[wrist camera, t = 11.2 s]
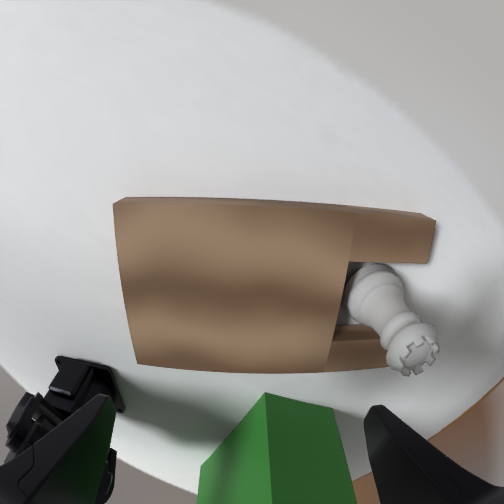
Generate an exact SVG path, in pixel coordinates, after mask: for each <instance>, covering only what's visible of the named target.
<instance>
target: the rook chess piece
mask: <svg viewBox="0 0 504 504" xmlns="http://www.w3.org/2000/svg"><path fill="white" fill-rule="evenodd" d="M343 301H344V305H345V308H346V309H347V311H348V312H349V314H350V315H351V316H352V317H353V318H354V319H355V321H357V322H358V323H361V324H363V325H366V326H369V327H372V328H373V329H374V330H375V331H376V332H377V333H378V334H379V336H380V341H381V346H382V347H383V348H384V349H385V350H388V352H387V355H386V359H387V364H388V365H389V366H390V368H391V369H395V370H399V371H401V373H402V375H403V376H408V377H409V375H410V374H411V372H410V370H413V372H414V374H415V375H417V374H419V373H422V372H423V369H422V367H421V365H422V364H424V363H425V362H427V364H428V365H429V366H431V364H432V363H433V362H434V361H435V358H434V356H433V355H432V353H433V352H434V354H436V353H438V352H439V345H438V344H437V341H436V333H437V332H436V330H435V328H434V326H432V325H430V324H428V323H421V319H420V317H419V315H418V314H416V313H413V312H411V311H410V310H409V308H408V307H407V305H406V303H405V301H404V290H403V284H402V282H401V280H400V279H399V277H398V276H397V274H395V272H394V271H393V269H392V268H390V267H388V266H386V265H384V264H371V265H368V266H365V267H363V268H361V269H360V270H358V271H357V272H356V273H355V274H354V275H352V276H351V278H350V280H349V281H348V283H347V284H346V286H345V289H344V294H343Z"/></svg>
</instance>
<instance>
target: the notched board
mask: <svg viewBox="0 0 504 504" xmlns="http://www.w3.org/2000/svg"><path fill="white" fill-rule="evenodd" d="M113 214H114V226H115V237H116V247H117V256H118V264H119V271H120V278H121V285H122V291H123V297H124V303H125V309H126V314H127V319H128V324H129V329H130V334H131V339H132V343H133V348H134V352H135V356H136V360H137V364H142V365H149V366H157V367H166V368H175V369H185V370H197V371H211V372H229V373H265V374H282V373H319V372H336V371H350V370H362V369H372V368H381V367H389V365H388V364H387V359H386V355H387V352H388V350H385V349H384V348H383V347H382V346H381V341H380V336H379V334H378V333H377V332H376V331H375V330H374V329H373V328H372V327H369V326H366V325H363V324H359V325H336V321H337V317H338V313H339V308H340V303H341V299H342V294H343V289H344V284H345V279H346V273H347V268H348V262H349V261H352V262H383V263H415V264H427V261H428V257H429V253H430V249H431V244H432V240H433V235H434V230H435V225H436V221H435V220H433V219H431V218H429V217H427V216H425V215H423V214H421V213H413V212H405V211H397V210H388V209H378V208H368V207H358V206H347V205H336V204H323V203H310V202H295V201H279V200H259V199H236V198H201V197H125V198H123V199H121V200H119V201H117V202H115V203H113Z"/></svg>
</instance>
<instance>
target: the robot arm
mask: <svg viewBox="0 0 504 504" xmlns="http://www.w3.org/2000/svg"><path fill="white" fill-rule="evenodd" d="M55 362H56V365H57V367H58V369H59V371H58V373H57V374H56V376H55V377H54V379H53V381H52V382H51V384H50V385H49V390H48V392H47V394H46V395H45V397H44V398H43V396H42V395H41V394H40V393H39V392H38V393H37V394H36V395H35V396H34V395H33V394H30V393H28V392H26V393H25V394H24V396H23V397H22V399H21V400H20V402H19V403H18V405H17V406H16V408H15V410H14V412H13V414H12V415H11V417H10V419H9V421H8V423H7V425H6V427H7V431H8V435H7V438H8V439H7V442H6V444H5V445H6V446H7V447H8V448H9V449H10V451H9V453H8V455H7V457H6V459H5V461H4V464H3V465H1V466H0V504H104V503H106V502H107V500H108V499H109V498H110V496H111V494H112V491H113V488H114V481H115V467H116V455H117V451H116V450H114V449H112V448H110V443H111V438H112V432H113V427H114V422H115V417H116V412H119V413H124V412H125V406H124V404H123V401H122V398H121V396H120V393H119V390H118V387H117V385H116V382H115V379H114V376H113V373H112V370H111V369H110V368H109V367H106V366H102V365H97V364H92V363H87V362H83V361H78V360H74V359H70V358H66V357H61V356H57V357H56V358H55ZM31 418H34V419H35V420H36V421H34V420H33V419H31ZM364 430H365V436H366V443H367V449H368V456H369V461H370V465H371V468H372V472H373V476H374V479H375V483H376V487H377V490H378V495H379V499H380V503H381V504H504V487H499V486H495V485H492V484H490V483H488V482H486V481H484V480H483V479H481V478H479V477H477V476H475V475H474V474H472V473H470V472H469V471H467V470H465V469H464V468H462V467H460V466H459V465H458V464H457V463H455V462H454V461H453V460H451V459H450V458H449V457H446V455H444V454H443V453H442V452H441V451H440V450H438V449H437V448H436V447H434V446H433V445H432V444H431V443H429V442H428V441H427V440H426V439H424V438H423V437H422V436H421V435H419V434H418V433H417V432H416V431H414V430H413V429H412V428H411V427H409V426H408V425H407V424H406V423H404V422H403V421H402V420H401V419H400V418H398V417H397V416H396V415H395V414H393V413H392V412H391V411H390V410H389V409H387V408H386V407H385V406H384V405H375V406H372V407H371V408H370V410H369V412H368V413H367V415H366V417H365V419H364Z"/></svg>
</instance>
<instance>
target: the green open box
mask: <svg viewBox="0 0 504 504" xmlns="http://www.w3.org/2000/svg"><path fill="white" fill-rule="evenodd" d="M197 504H357V501H356V497H355V493H354V489H353V485H352V481H351V477H350V473H349V469H348V465H347V461H346V457H345V454H344V450H343V446H342V442H341V439H340V435H339V431H338V427H337V424H336V420H335V417H334V413H333V409H332V408H329V407H324V406H319V405H314V404H310V403H305V402H301V401H297V400H292V399H288V398H284V397H281V396H277V395H273V394H269V393H266V392H265V393H264V394H263V395H262V396H261V398H260V399H259V400H258V401H257V403H256V404H255V405H254V406H253V408H252V409H251V410H250V411H249V412H248V414H247V415H246V416H245V417H244V418H243V420H242V421H241V422H240V423H239V424H238V425H237V427H236V428H235V429H234V430H233V431H232V432H231V434H230V435H229V436H228V437H227V438H226V439H225V440H224V442H223V443H222V444H221V445H220V446H219V447H218V448H217V449H216V450H215V452H214V453H213V454H212V455H211V456H210V457H209V458H208V459H207V460H206V461H205V462H204V463H203V464H202V465H201V469H200V478H199V488H198V497H197Z"/></svg>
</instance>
